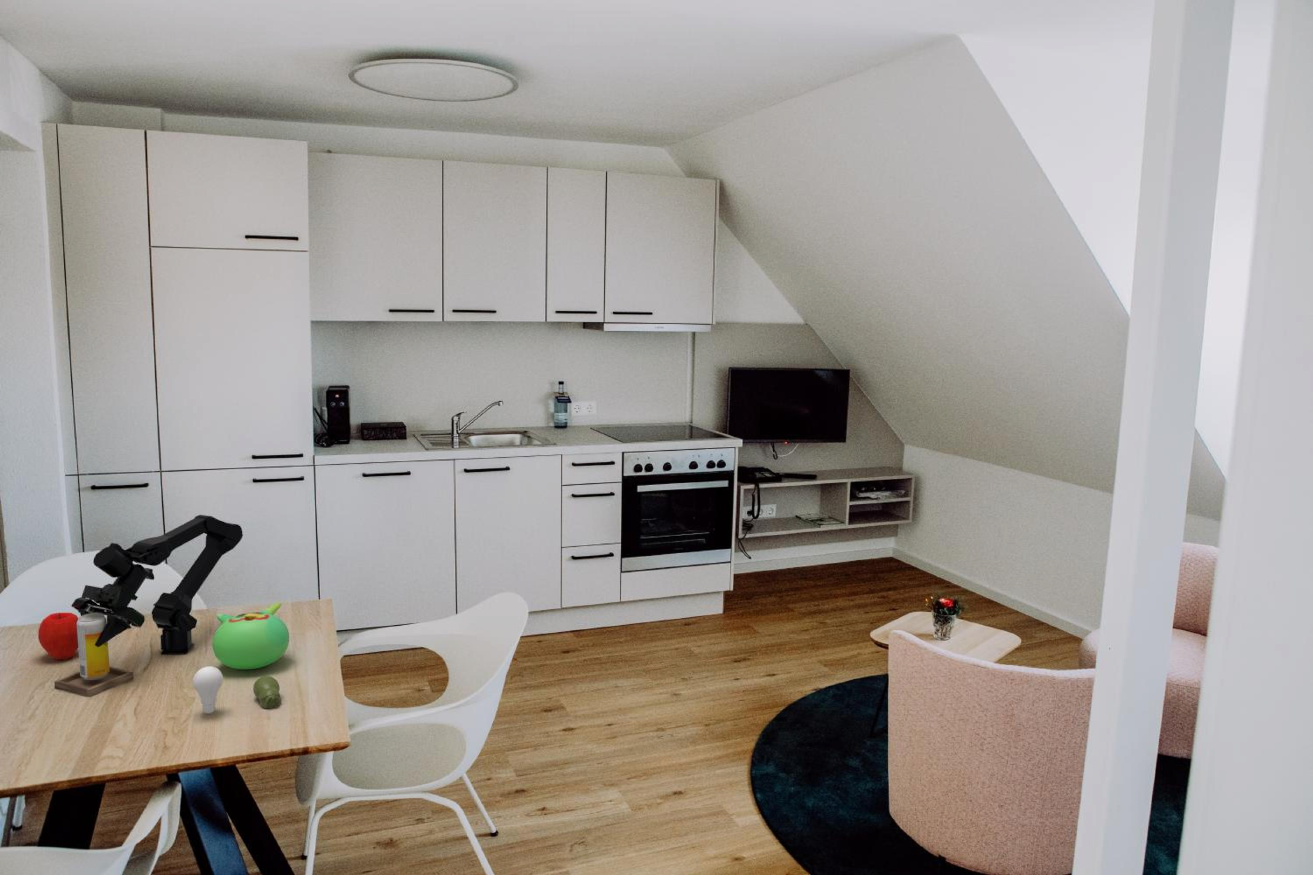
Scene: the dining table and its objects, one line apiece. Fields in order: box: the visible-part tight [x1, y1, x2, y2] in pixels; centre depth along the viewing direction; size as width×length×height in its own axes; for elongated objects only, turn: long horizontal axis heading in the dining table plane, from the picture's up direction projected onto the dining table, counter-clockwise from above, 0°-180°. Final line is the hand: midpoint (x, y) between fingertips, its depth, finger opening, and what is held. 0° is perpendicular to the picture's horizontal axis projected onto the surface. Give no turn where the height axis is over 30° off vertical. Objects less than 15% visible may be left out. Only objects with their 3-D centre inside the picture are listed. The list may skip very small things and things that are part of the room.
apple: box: [37, 612, 79, 660], centre depth 237 cm, size 10×10×12 cm
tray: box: [53, 666, 134, 698], centre depth 223 cm, size 12×12×2 cm
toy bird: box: [212, 602, 290, 670], centre depth 236 cm, size 18×17×15 cm
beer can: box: [77, 613, 110, 680], centre depth 222 cm, size 6×6×15 cm
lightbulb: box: [192, 666, 224, 715], centre depth 209 cm, size 6×6×11 cm
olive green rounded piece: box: [252, 675, 282, 710], centre depth 217 cm, size 6×5×10 cm
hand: (87, 644), depth 221 cm, fingers closed on beer can, 6 cm apart
